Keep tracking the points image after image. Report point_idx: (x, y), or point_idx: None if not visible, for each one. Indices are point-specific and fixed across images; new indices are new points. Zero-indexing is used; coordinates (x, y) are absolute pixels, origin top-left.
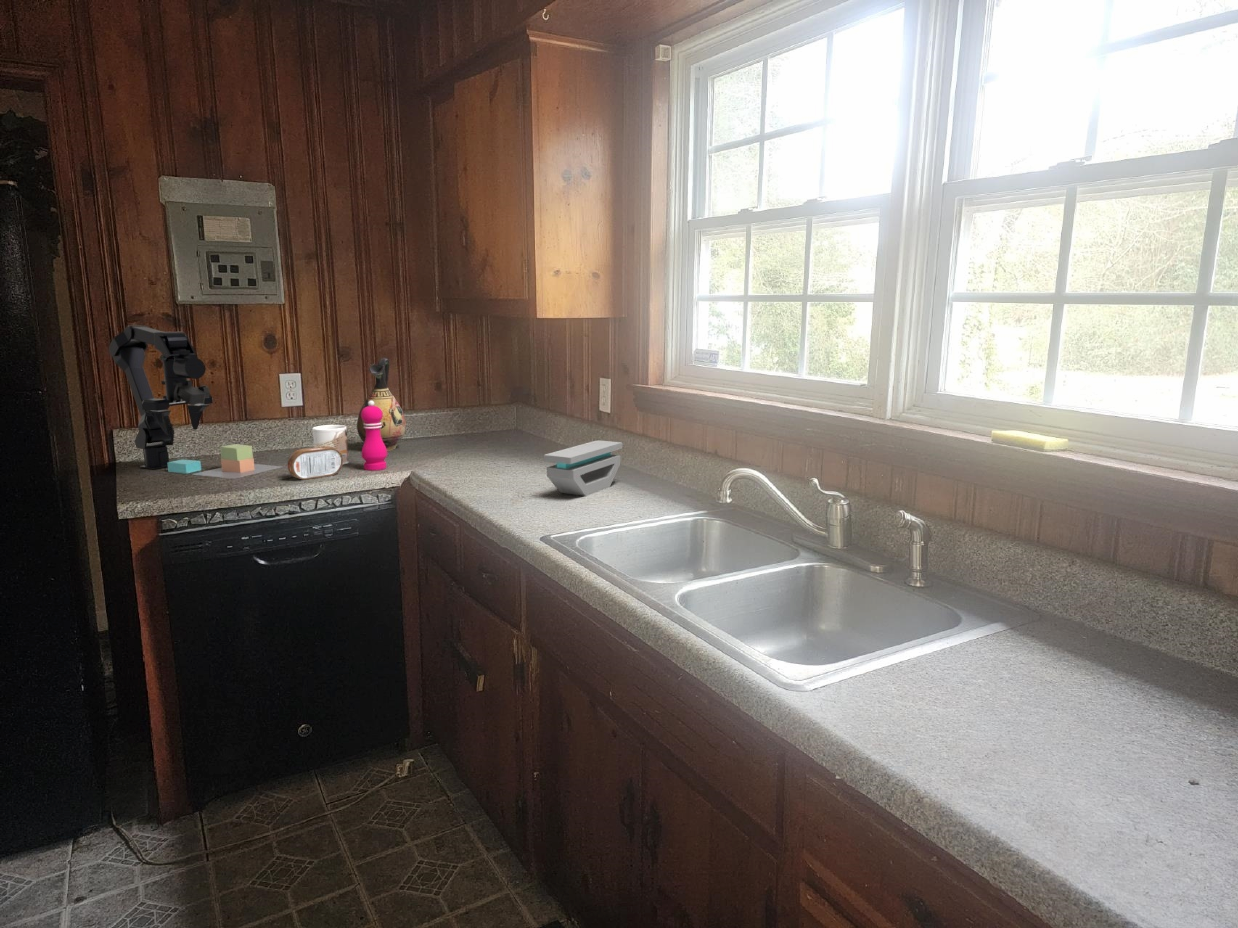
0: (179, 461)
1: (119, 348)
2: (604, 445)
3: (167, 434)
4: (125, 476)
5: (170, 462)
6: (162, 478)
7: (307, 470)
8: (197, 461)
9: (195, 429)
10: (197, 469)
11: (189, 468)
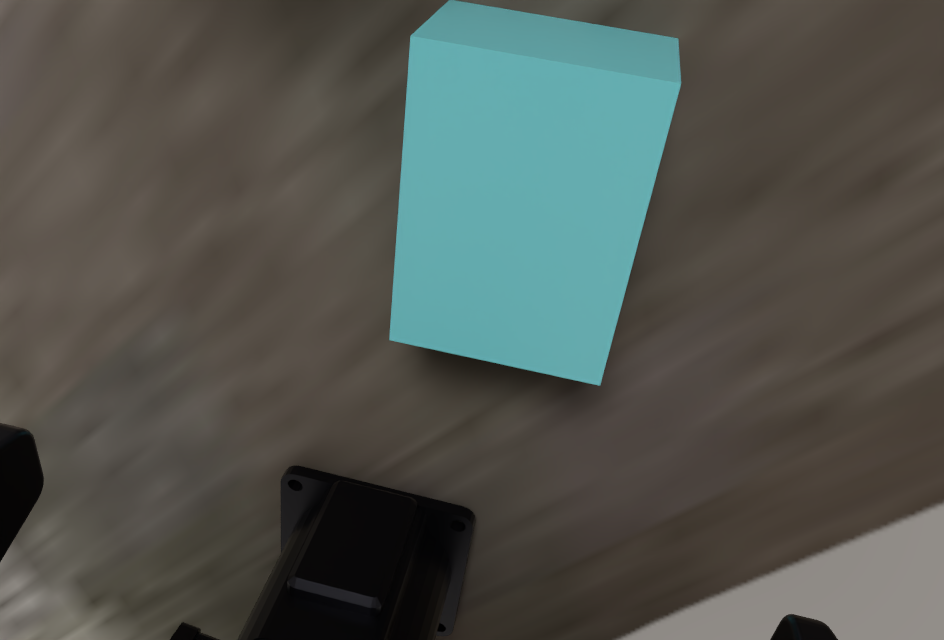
0: (511, 293)
1: None
2: None
3: (814, 630)
4: (774, 571)
5: (591, 354)
6: (879, 210)
7: None
8: (454, 51)
9: (32, 442)
10: (498, 19)
11: (620, 52)
